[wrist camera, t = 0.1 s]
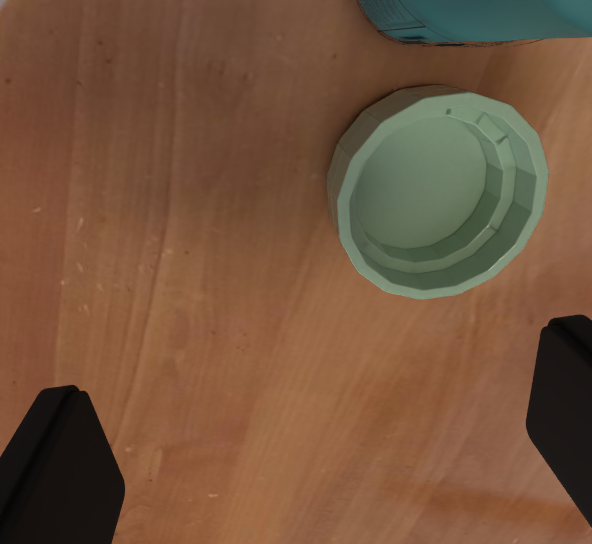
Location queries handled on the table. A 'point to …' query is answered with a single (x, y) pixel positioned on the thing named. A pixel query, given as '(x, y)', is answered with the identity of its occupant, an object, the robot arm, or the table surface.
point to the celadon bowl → (436, 190)
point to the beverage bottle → (479, 20)
